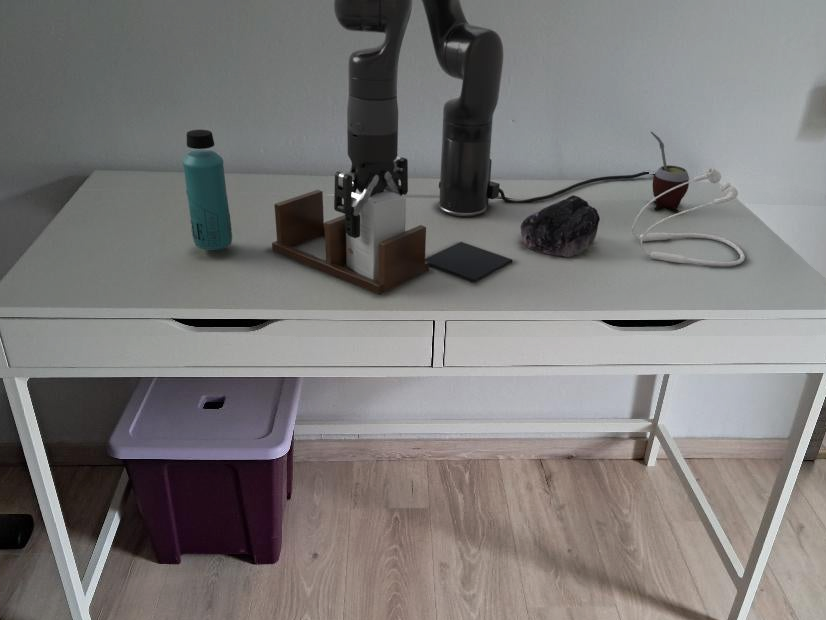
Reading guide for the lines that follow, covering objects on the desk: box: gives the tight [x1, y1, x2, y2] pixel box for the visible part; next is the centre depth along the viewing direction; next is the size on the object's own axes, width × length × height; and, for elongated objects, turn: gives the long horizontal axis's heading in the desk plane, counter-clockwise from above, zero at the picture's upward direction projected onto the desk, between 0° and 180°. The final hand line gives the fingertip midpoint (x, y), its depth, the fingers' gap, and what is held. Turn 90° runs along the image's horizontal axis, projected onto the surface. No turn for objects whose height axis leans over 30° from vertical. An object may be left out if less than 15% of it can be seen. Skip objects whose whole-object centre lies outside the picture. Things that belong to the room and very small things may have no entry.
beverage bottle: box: [182, 129, 233, 251], centre depth 128 cm, size 6×7×20 cm
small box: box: [346, 189, 407, 282], centre depth 127 cm, size 8×6×13 cm
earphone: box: [631, 167, 746, 267], centre depth 142 cm, size 14×17×18 cm
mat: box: [425, 241, 513, 284], centre depth 135 cm, size 11×11×1 cm
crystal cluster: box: [520, 194, 601, 258], centre depth 141 cm, size 13×14×10 cm
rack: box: [271, 189, 430, 296], centre depth 131 cm, size 12×24×8 cm, turn 52°
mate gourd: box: [650, 131, 690, 214], centre depth 158 cm, size 8×8×15 cm
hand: (372, 229), depth 127 cm, fingers open, 8 cm apart
